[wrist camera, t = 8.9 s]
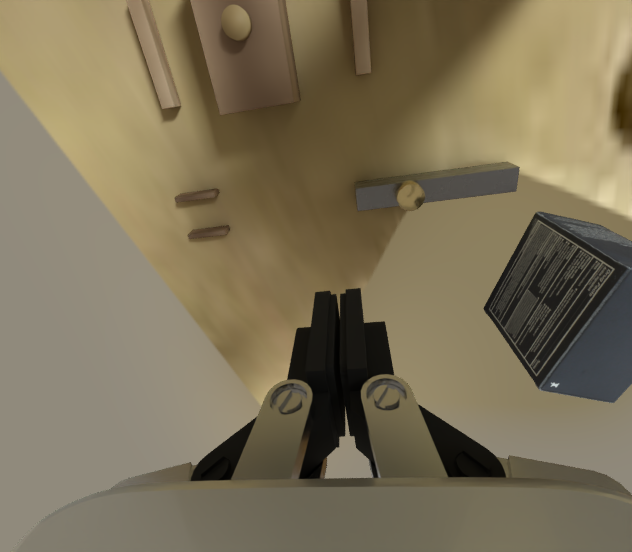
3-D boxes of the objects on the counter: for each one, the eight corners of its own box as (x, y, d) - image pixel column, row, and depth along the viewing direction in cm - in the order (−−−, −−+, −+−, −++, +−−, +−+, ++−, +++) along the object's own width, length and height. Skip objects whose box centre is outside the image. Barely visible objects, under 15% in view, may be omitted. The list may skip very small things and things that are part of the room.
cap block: (276, -59, 21) (259, -99, 17) (300, 99, 26) (292, 103, 21) (201, -42, 22) (165, -76, 17) (237, 110, 26) (216, 116, 22)
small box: (542, 322, 34) (617, 408, 25) (480, 309, 34) (533, 392, 24) (607, 224, 29) (732, 289, 20) (534, 209, 28) (627, 267, 19)
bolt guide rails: (361, -58, 21) (362, -65, 20) (369, 72, 24) (371, 72, 23) (132, -7, 23) (122, -11, 22) (169, 108, 26) (162, 108, 25)
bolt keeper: (218, 188, 29) (213, 192, 28) (229, 229, 31) (226, 234, 30) (180, 193, 30) (174, 197, 28) (194, 234, 31) (189, 239, 30)
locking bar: (507, 160, 26) (527, 169, 24) (504, 185, 27) (523, 197, 25) (354, 181, 28) (356, 191, 25) (356, 204, 29) (358, 217, 26)
